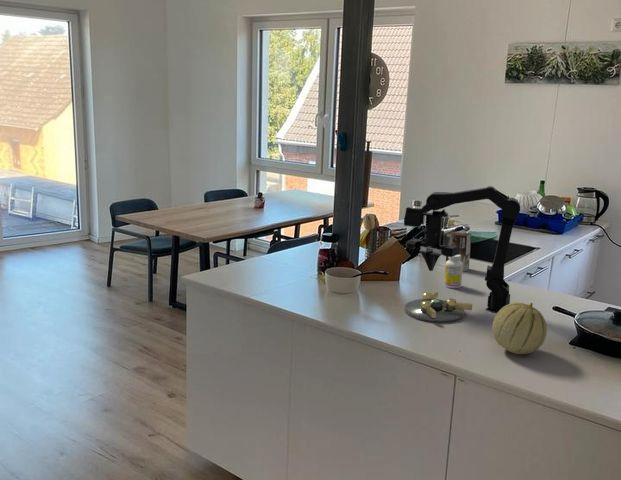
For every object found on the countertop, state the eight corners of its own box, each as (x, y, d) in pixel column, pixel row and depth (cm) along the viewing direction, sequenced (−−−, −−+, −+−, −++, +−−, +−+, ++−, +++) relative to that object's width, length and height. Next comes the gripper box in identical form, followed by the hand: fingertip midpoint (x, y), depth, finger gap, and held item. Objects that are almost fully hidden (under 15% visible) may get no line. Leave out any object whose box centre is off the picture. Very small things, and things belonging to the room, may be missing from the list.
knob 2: (419, 309, 197) (420, 301, 196) (428, 309, 197) (429, 300, 197) (429, 318, 189) (429, 309, 188) (438, 318, 189) (439, 309, 188)
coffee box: (469, 268, 256) (472, 233, 253) (464, 271, 251) (467, 235, 247) (449, 265, 261) (451, 230, 257) (444, 268, 256) (447, 233, 252)
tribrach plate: (474, 312, 200) (475, 300, 199) (444, 327, 186) (445, 314, 185) (424, 299, 214) (425, 288, 213) (393, 312, 199) (394, 300, 198)
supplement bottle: (448, 282, 235) (450, 252, 232) (464, 286, 231) (466, 254, 228) (441, 286, 230) (443, 255, 227) (456, 289, 225) (458, 258, 223)
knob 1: (428, 304, 202) (429, 295, 202) (420, 302, 204) (421, 293, 204) (440, 298, 209) (440, 290, 208) (432, 296, 211) (432, 288, 210)
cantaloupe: (480, 346, 172) (484, 298, 169) (518, 339, 178) (523, 292, 174) (515, 366, 159) (520, 314, 155) (555, 357, 164) (561, 307, 161)
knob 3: (445, 310, 197) (446, 301, 196) (445, 306, 200) (446, 298, 199) (472, 312, 195) (472, 303, 195) (471, 309, 198) (472, 300, 198)
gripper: (468, 229, 204) (465, 271, 207) (423, 221, 216) (420, 261, 220) (452, 233, 196) (449, 277, 199) (406, 225, 208) (404, 267, 212)
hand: (430, 270), depth 208 cm, fingers closed
